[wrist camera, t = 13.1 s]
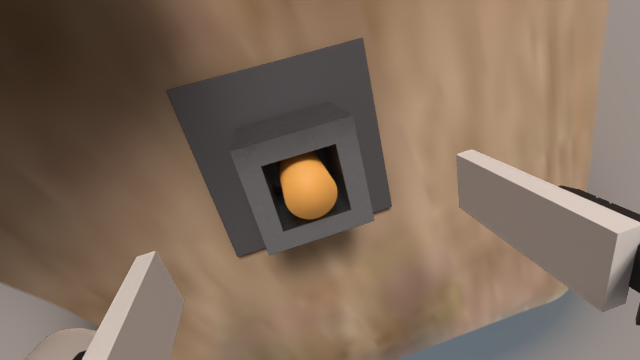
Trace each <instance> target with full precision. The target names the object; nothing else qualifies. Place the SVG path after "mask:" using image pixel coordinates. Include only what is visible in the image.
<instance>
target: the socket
mask: <svg viewBox="0 0 640 360" xmlns="http://www.w3.org/2000/svg"><path fill="white" fill-rule="evenodd" d="M320 148H322V149H323V152H324V156H325V160H326V164H327V168H328V172H329V174H330V176H331V177H332V179H333V180H334V182H335V184H336V186H337V199H336V202H335V204H334V206H333V207H332V209H331V210H330V211H329V212H327V213H326V214H325V215H323V216H321V217H319V218H315V219H303V218H300V217H297V216H295V215H294V214H293V213H291V212H290V210H289V209H288V208H287V206H286V203H285V199H284V195H283V191H282V192H279V193H276V191H275V188H274V185H273V182H272V179H271V176H270V173H269V170H268V167H267V164H270V163H274V162H277V161H280V160H284V159H287V158H290V157H294V156H297V155H300V154H304V153H307V152H310V151H314V150H317V149H320ZM230 154H231V156H232V159H233V162H234V164H235V167H236V169H237V172H238V175H239V177H240V180H241V183H242V185H243V188H244V191H245V193H246V196H247V198H248V201H249V204H250V206H251V209H252V212H253V214H254V217H255V219H256V222H257V225H258V227H259V230H260V233H261V235H262V238H263V240H264V243H265V246H266V248H267V251H268V254H269V255H272V254H275V253H278V252H281V251H284V250H287V249H290V248H294V247H297V246H300V245H303V244H306V243H309V242H312V241H315V240H318V239H321V238H324V237H327V236H330V235H333V234H336V233H339V232H342V231H345V230H348V229H351V228H354V227H357V226H360V225H363V224H366V223H370V222H373V221H374V216H373V211H372V206H371V201H370V196H369V191H368V186H367V181H366V177H365V172H364V167H363V162H362V157H361V152H360V147H359V142H358V137H357V132H356V127H355V123H354V118H353V115H352V114H350V113H348V112H346V111H345V110H343V109H341V108H339V107H337V106H336V105H334V104H332V103H330V102H326V103H323V104H319V105H316V106H312V107H309V108H305V109H302V110H298V111H295V112H291V113H288V114H284V115H281V116H277V117H274V118H271V119H267V120H264V121H260V122H257V123H253V124H250V125H246V126H243V127H239V128H236V129H235V131H234V136H233V140H232V144H231V148H230Z"/></svg>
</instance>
